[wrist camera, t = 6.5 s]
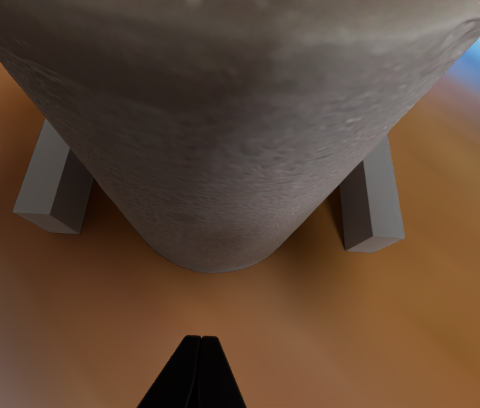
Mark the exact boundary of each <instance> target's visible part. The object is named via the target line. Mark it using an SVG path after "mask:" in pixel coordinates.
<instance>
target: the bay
mask: <svg viewBox="0 0 480 408" xmlns="http://www.w3.org/2000/svg"><path fill="white" fill-rule="evenodd" d="M93 180H94V177H93V176H92V174H91V173H90V172H89V171H88V169H87V168H86V167H85V166H84V164H83V163H82V162H81V161H80V160H79V159H78V157H77V156H76V155H75V153H74V152H73V151H72V149H71V148H70V147H69V146H68V145H67V144H66V142H65V141H64V140H63V139H62V138H61V136H60V135H59V134H58V132H57V131H56V130H55V129H54V128H53V126H52V125H51V124H50V123H49V121H48V120H47V119H46V118H45V121H44V124H43V127H42V130H41V132H40V135H39V138H38V141H37V144H36V147H35V149H34V152H33V155H32V158H31V161H30V163H29V166H28V169H27V172H26V175H25V178H24V180H23V183H22V186H21V189H20V192H19V195H18V197H17V200H16V203H15V206H14V209H13V213H15V214H17V215H19V216H20V217H22V218H24V219H26V220H28V221H30V222H31V223H33V224H35V225H37V226H39V227H41V228H42V229H44V230H46V231H48V232H52V233H68V234H80V231H81V227H82V223H83V219H84V215H85V211H86V207H87V203H88V199H89V195H90V192H91V188H92V184H93ZM339 186H340V197H341V208H342V219H343V230H344V241H345V251H352V252H367V253H373V252H375V251H378V250H380V249H382V248H384V247H387V246H389V245H391V244H394V243H396V242H398V241H400V240H403V239H405V234H404V228H403V222H402V216H401V210H400V204H399V199H398V193H397V187H396V181H395V175H394V169H393V163H392V157H391V152H390V146H389V140H388V134H386V135H385V136H384V137H383V138H382V139H381V140H380V142H379V143H378V144H377V145H376V146H375V147H374V149H373V150H372V151H371V152H370V153H368V154H367V156H366V157H365V158H364V159H363V160H362V161H361V162H360V163H359V164H358V165H357V166H356V167H355V168H354V169H353V170H352V171H351V172H350V173H349V174H348V175H347V177H346V178H345V179H344V180H343V181H342V182H341V183H340V184H339Z"/></svg>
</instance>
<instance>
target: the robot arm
mask: <svg viewBox="0 0 480 408" xmlns="http://www.w3.org/2000/svg"><path fill="white" fill-rule="evenodd" d="M137 408H247V407H246V405H245V402H244V400H243V398H242V395H241V393H240V390H239V388H238V385H237V383H236V380H235V378H234V376H233V373H232V371H231V368H230V366H229V363H228V361H227V358H226V356H225V353H224V351H223V349H222V346H221V344H220V341H219V339H218V337H216V336H203V337H202V339H201V336H197V335H187V336H185V337H184V338H183V340H182V341H181V343H180V344H179V346H178V347H177V349H176V350H175V352H174V353H173V355H172V356H171V358H170V359H169V361H168V362H167V364H166V365H165V367H164V368H163V369H162V371H161V372H160V374H159V375H158V377H157V378H156V380H155V381H154V383H153V384H152V386H151V387H150V389H149V390H148V392H147V393H146V395H145V396H144V398H143V399H142V400H141V402H140V403H139V405H138V406H137Z"/></svg>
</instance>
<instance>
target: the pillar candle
mask: <svg viewBox="0 0 480 408" xmlns="http://www.w3.org/2000/svg"><path fill="white" fill-rule="evenodd" d="M479 37H480V0H0V62H1V63H2V65H3V66H4V67H5V69H6V70H7V71H8V73H9V74H10V75H11V76H12V77H13V79H14V80H15V81H16V82H17V83H18V84H19V86H20V87H21V88H22V89H23V90H24V91H25V93H26V94H27V95H28V96H29V98H30V99H31V100H32V101H33V102H34V104H35V105H36V106H37V107H38V109H39V110H40V111H41V112H42V114H43V115H44V116H45V118H46V119H47V120H48V121H49V123H50V124H51V125H52V126H53V128H54V129H55V130H56V131H57V132H58V134H59V135H60V136H61V138H62V139H63V140H64V141H65V142H66V144H67V145H68V146H69V147H70V148H71V149H72V151H73V152H74V153H75V155H76V156H77V157H78V159H79V160H80V161H81V162H82V163H83V164H84V166H85V167H86V168H87V169H88V171H89V172H90V173H91V174H92V176H93V177H94V178H95V180H96V181H97V183H98V184H99V186H100V187H101V188H102V189H103V191H104V192H105V193H106V194H107V195H108V197H109V198H110V199H111V200H112V201H113V202H114V203H115V205H116V206H117V207H118V209H119V210H120V211H121V212H122V213H123V215H124V216H125V217H126V219H127V220H128V221H129V222H130V223H131V225H132V226H133V227H134V228H135V229H136V231H137V232H138V233H139V234H140V236H141V237H142V238H143V239H144V240H145V241H146V243H147V244H148V245H149V246H150V247H151V248H152V249H153V250H154V251H156V252H157V253H158V254H160V255H161V256H163V257H164V258H165V259H167V260H169V261H170V262H172V263H174V264H176V265H179V266H181V267H184V268H187V269H190V270H193V271H199V272H204V273H224V272H232V271H236V270H240V269H243V268H246V267H249V266H252V265H254V264H256V263H258V262H260V261H262V260H263V259H265V258H267V257H268V256H269V255H271V254H272V253H273V252H274V251H275V250H276V249H278V248H279V247H280V246H281V245H282V244H283V243H284V241H285V240H286V239H287V238H288V237H289V236H290V235H291V234H292V233H293V232H294V231H295V230H296V229H297V228H298V227H299V226H300V225H301V224H302V223H303V222H304V221H305V220H306V219H307V218H308V216H309V215H310V214H311V213H312V212H313V211H314V210H315V209H316V208H317V207H318V206H319V205H320V204H321V203H322V202H323V201H324V200H325V199H326V198H327V197H328V195H329V194H330V193H331V192H332V191H333V190H334V189H335V188H336V187H337V186H338V185H339V184H340V183H341V182H342V181H343V180H344V179H345V178H346V177H347V175H348V174H349V173H350V172H351V171H352V170H353V169H354V168H355V167H356V166H357V165H358V164H359V163H360V162H361V161H362V160H363V159H364V158H365V157H366V156H367V154H368V153H370V152H371V151H372V150H373V149H374V147H375V146H376V145H377V144H378V143H379V142H380V140H381V139H382V138H383V137H384V136H385V135H386V134H387V133H388V132H389V131H390V130H391V128H392V127H393V126H394V125H395V124H396V123H397V122H398V121H399V120H400V119H401V118H402V116H403V115H405V114H406V113H407V112H408V111H409V110H410V109H411V108H412V107H413V106H414V105H415V104H416V103H417V102H418V101H419V100H420V99H421V98H422V97H423V96H424V95H425V94H426V93H427V92H428V91H429V89H430V88H431V87H432V86H433V85H434V84H435V83H436V82H437V81H438V80H439V79H440V77H441V76H442V75H443V74H444V73H445V72H446V71H447V70H448V69H449V68H450V67H451V66H452V65H453V64H454V62H455V61H456V60H457V59H458V58H459V57H460V56H461V55H462V54H463V53H464V52H465V51H466V50H467V49H468V48H469V47H470V46H471V45H472V44H473V43H474V42H475V41H476V40H477V39H478V38H479Z"/></svg>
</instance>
